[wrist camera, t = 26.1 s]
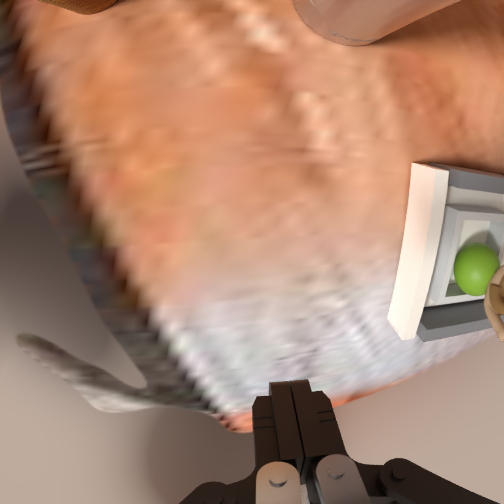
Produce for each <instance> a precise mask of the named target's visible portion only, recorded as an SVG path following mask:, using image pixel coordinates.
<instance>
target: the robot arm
mask: <svg viewBox="0 0 504 504" xmlns="http://www.w3.org/2000/svg"><path fill="white" fill-rule="evenodd" d="M459 1H462V0H293V2H294V5H295V8H296V10H297V12H298V14H299V16H300V17H301V18H302V20H303V21H304V22H305V23H306V25H307V26H309V27H310V28H311V29H312V30H313V31H314V32H316V33H317V34H319V35H321V36H322V37H324V38H325V39H328V40H330V41H333V42H335V43H339V44H343V45H348V46H361V45H367V44H370V43H372V42H375V41H377V40H379V39H381V38H382V37H384V36H386V35H388V34H390V33H392V32H394V31H396V30H398V29H400V28H402V27H404V26H406V25H408V24H410V23H412V22H414V21H416V20H418V19H421V18H423V17H425V16H427V15H429V14H431V13H433V12H436V11H438V10H440V9H442V8H445V7H447V6H449V5H452V4H454V3H457V2H459ZM252 421H253V439H254V451H255V466H256V467H255V470H254V471H253V472H252V474H251V475H250V476H248V477H247V478H245V479H244V480H241V481H238V482H235V483H232V484H229V485H226V484H223V483H221V482H207V483H204V484H201V485H200V486H198V487H197V488H196V489H195V490H194V491H193V492H192V493H191V494H189V495H188V496H187V497H186V498H185V499H184V500H183V501H181V502H180V503H179V504H302V502H301V488H300V485H303V484H306V487H307V493H308V494H307V497H306V502H307V504H499V503H497V502H494V501H492V500H490V499H487V498H485V497H482V496H480V495H478V494H476V493H474V492H471V491H469V490H467V489H465V488H463V487H460V486H458V485H456V484H454V483H452V482H450V481H448V480H446V479H444V478H442V477H440V476H438V475H436V474H434V473H432V472H430V471H428V470H425V469H424V468H422V467H420V466H418V465H416V464H414V463H413V462H411V461H409V460H407V459H403V458H395V459H391V460H389V461H388V462H386V463H385V464H384V465H367V464H361V463H358V462H356V461H354V460H353V459H351V458H350V457H349V455H348V454H347V452H346V450H345V447H344V443H343V440H342V437H341V433H340V430H339V427H338V424H337V421H336V418H335V414H334V412H333V408H332V405H331V401H330V399H329V398H328V397H327V396H326V395H325V394H324V393H323V391H315V392H312V391H311V387H310V384H309V381H308V379H305V380H294V381H289V382H288V381H283V382H269V396H257V397H256V399H255V402H254V404H253V406H252Z"/></svg>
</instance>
